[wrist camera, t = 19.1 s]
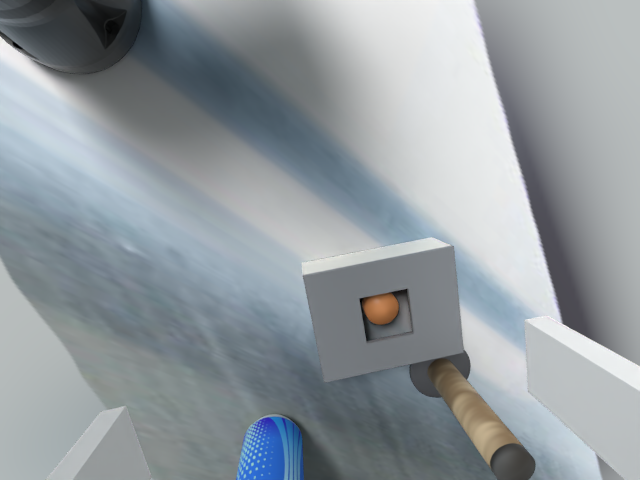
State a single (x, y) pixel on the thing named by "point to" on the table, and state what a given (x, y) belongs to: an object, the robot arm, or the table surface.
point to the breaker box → (378, 278)
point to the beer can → (272, 450)
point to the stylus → (481, 424)
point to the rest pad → (421, 376)
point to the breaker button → (380, 308)
